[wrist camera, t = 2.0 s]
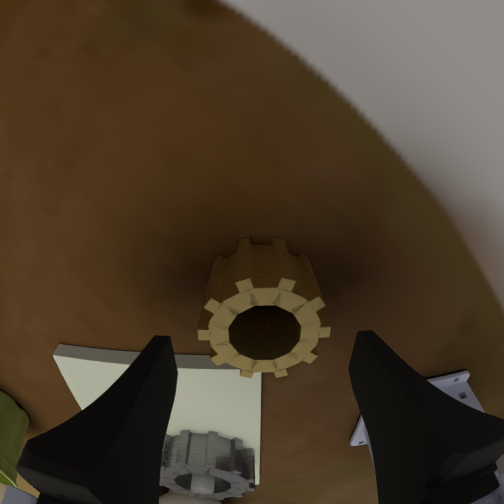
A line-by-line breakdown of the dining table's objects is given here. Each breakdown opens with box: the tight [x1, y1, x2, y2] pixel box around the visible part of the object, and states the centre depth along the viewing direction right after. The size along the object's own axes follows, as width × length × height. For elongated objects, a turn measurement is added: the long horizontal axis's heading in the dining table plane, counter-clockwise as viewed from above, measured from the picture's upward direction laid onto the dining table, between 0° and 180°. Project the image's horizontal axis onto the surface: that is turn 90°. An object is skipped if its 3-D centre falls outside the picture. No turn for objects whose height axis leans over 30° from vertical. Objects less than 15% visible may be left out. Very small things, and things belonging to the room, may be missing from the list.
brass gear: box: [198, 237, 331, 378], centre depth 15 cm, size 6×6×4 cm
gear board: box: [53, 344, 261, 494], centre depth 20 cm, size 14×18×5 cm
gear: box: [160, 430, 255, 500], centre depth 21 cm, size 8×8×3 cm
